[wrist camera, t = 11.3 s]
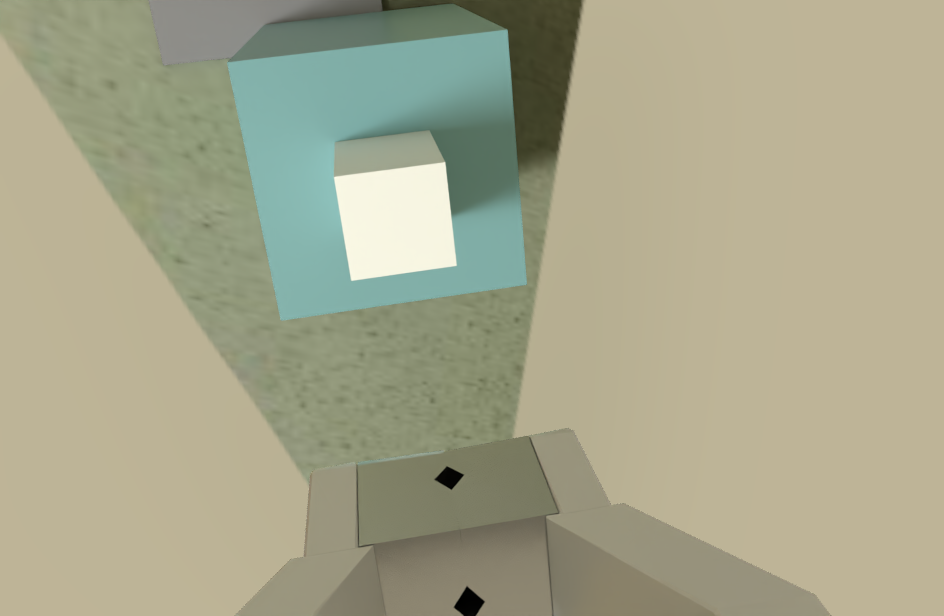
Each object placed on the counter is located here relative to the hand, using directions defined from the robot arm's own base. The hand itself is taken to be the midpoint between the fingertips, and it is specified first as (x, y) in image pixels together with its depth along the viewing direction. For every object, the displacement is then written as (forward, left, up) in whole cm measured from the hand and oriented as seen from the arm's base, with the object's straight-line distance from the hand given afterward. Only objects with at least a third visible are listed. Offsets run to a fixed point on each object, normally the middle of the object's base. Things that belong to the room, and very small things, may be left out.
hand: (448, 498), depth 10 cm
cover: (0, 0, -32) cm, 32 cm away
